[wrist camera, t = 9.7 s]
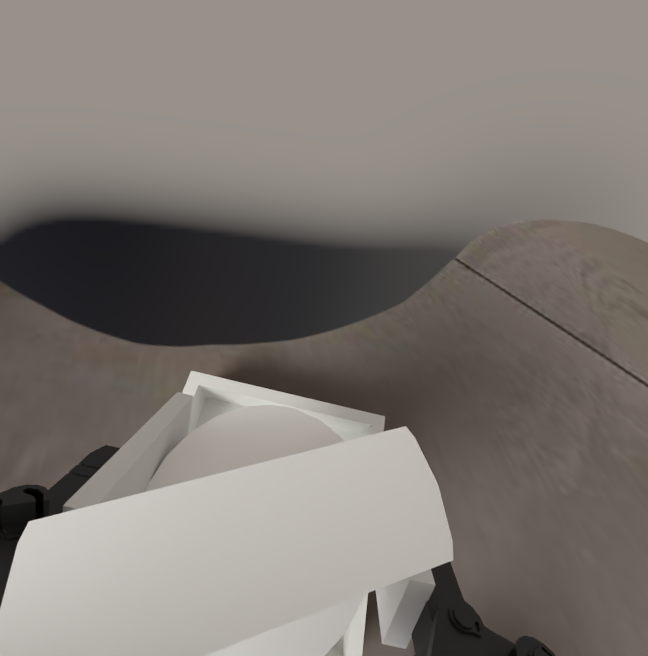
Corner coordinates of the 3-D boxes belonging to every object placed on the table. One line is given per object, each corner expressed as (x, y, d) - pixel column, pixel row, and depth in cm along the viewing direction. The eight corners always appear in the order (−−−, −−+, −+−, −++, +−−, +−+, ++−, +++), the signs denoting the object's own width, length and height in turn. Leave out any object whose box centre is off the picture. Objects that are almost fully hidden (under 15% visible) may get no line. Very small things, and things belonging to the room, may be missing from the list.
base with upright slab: (322, 415, 20) (379, 326, 10) (365, 588, 16) (534, 744, 6) (170, 450, 18) (33, 382, 8) (178, 659, 14) (-78, 1108, 4)
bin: (113, 611, 23) (78, 637, 19) (201, 387, 31) (191, 370, 27) (342, 658, 24) (358, 692, 19) (369, 426, 32) (385, 416, 28)
